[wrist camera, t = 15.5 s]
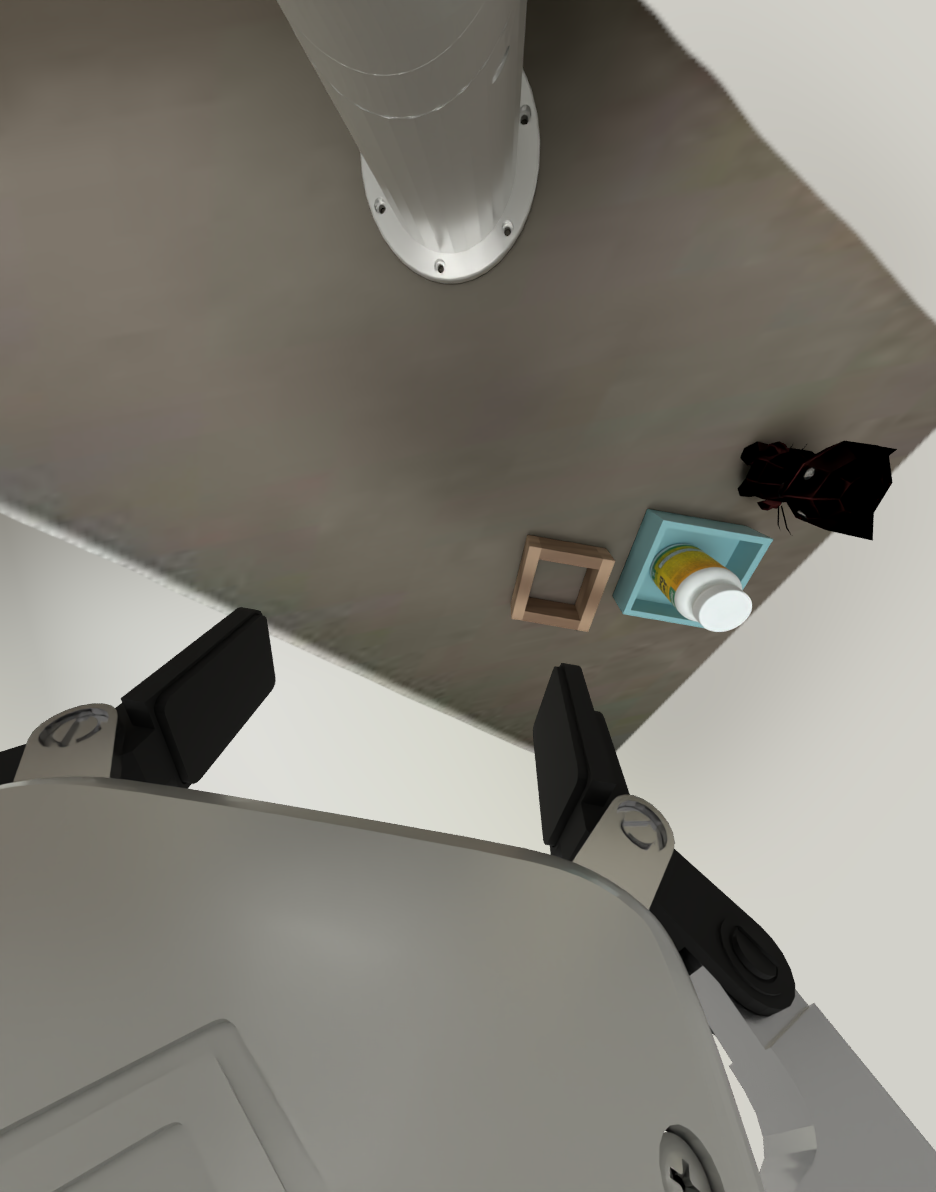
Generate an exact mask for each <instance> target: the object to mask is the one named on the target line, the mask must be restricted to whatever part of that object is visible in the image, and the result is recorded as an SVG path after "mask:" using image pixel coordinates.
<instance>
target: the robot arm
mask: <svg viewBox="0 0 936 1192" xmlns="http://www.w3.org/2000/svg"><path fill="white" fill-rule="evenodd" d="M277 2H278V4H279V6H280V7H281V9H282V11H283V13H284V14H285V16H286V18H287V20H288V22H289V23H290V25H291V27H292V29H293V31H294V33H295V35H296V37H297V38H298V40H299V42H300V44H301V46H302V47H303V49H304V51H305V53H306V55H307V56H308V58H309V60H310V62H311V64H312V65H313V67H314V69H315V71H316V73H317V74H318V76H319V78H320V80H321V82H322V84H323V85H324V87H325V89H326V91H327V93H328V94H329V96H330V98H331V100H332V102H333V103H334V105H335V107H336V109H337V111H338V112H339V114H340V116H341V118H342V120H343V121H344V123H345V125H346V127H347V129H348V130H349V132H350V134H351V136H352V138H353V139H354V141H355V143H356V145H357V147H358V148H359V150H360V155H361V172H362V178H363V183H364V188H365V194H366V198H367V201H368V204H369V207H370V210H371V213H372V216H373V218H374V220H375V222H376V224H377V226H378V228H379V230H380V232H381V235H382V236H383V238H384V239H385V241H386V242H387V244H388V245H389V247H390V248H391V250H392V251H393V252H394V253H395V254H396V256H397V257H398V258H399V259H400V260H401V261H402V263H404V264H405V265H406V266H407V267H409V268H410V269H411V270H412V271H414V272H415V273H416V274H418V275H420V276H422V277H424V278H426V279H428V280H431V281H435V282H439V283H444V284H450V283H462V282H466V281H470V280H473V279H475V278H477V277H479V276H481V275H483V274H485V273H487V272H488V271H489V270H490V269H492V268H493V267H494V266H495V265H496V264H498V263H499V262H500V261H501V260H502V259H503V257H504V256H505V255H506V254H507V253H508V251H509V250H510V249H511V248H512V247H513V245H514V243H515V241H516V240H517V238H518V236H519V234H520V233H521V231H522V229H523V227H524V224H525V222H526V219H527V217H528V214H529V212H530V209H531V206H532V201H533V197H534V193H535V189H536V184H537V177H538V170H539V155H540V135H539V124H538V114H537V110H536V106H535V102H534V98H533V93H532V89H531V87H530V85H529V82H528V80H527V77H526V75H525V72H524V70H523V55H524V40H525V25H526V9H527V0H277ZM523 119H525V120H527V122H528V123H527V124H526V125H522V124H521V121H522V120H523ZM382 208H386V210H385V212H384V213H383V214H381V212H380V211H381V209H382ZM506 229H509V230H510V231H511V234H510V235H509V236H505V234H504V232H505V230H506ZM440 266H443V267H444V271H443V272H442V273H439V272H438V269H439V267H440ZM274 685H275V672H274V666H273V659H272V652H271V645H270V638H269V631H268V624H267V619H266V617H265V616H263V615H262V613H261V611H259V610H254V609H248V608H243V607H240V608H237V609H236V610H234V611H233V612H232V613H231V614H229V615H228V616H227V617H226V618H224V619H223V620H222V621H220V622H219V623H218V624H216V625H215V626H214V627H212V629H210V630H209V631H207V632H206V633H205V634H203V635H202V636H201V637H199V638H198V639H197V640H196V641H194V642H193V643H192V644H190V645H189V646H188V647H187V648H185V649H184V650H183V651H181V652H180V653H179V654H177V655H176V656H175V657H174V658H172V659H171V660H170V661H168V662H167V663H166V664H165V665H163V666H162V667H161V668H160V669H158V670H157V671H156V672H154V673H153V674H152V675H150V676H149V677H148V678H146V679H145V680H144V681H142V682H141V683H140V684H139V685H137V686H136V687H135V688H133V689H132V690H131V691H130V692H128V693H127V694H126V695H125V696H123V697H122V698H121V700H122V703H121V704H120V705H119V706H118V707H116V708H114V707H112V706H111V705H107V704H102V703H101V704H87V705H81V706H77V707H74V708H71V709H68V710H65V711H63V712H61V713H59V714H57V715H55V716H53V717H51V718H49V719H48V720H46V721H45V722H43V723H42V724H41V725H40V726H39V727H37V728H36V729H35V730H34V731H33V732H32V734H31V736H30V737H29V739H28V741H27V744H24V745H21V746H18V747H15V748H12V749H8V750H5V751H2V752H0V1192H936V1151H935V1150H934V1149H933V1148H932V1146H931V1145H930V1144H929V1143H928V1141H927V1140H926V1139H925V1138H924V1137H923V1135H922V1134H921V1133H920V1132H919V1130H918V1129H917V1128H916V1127H915V1126H914V1125H913V1123H912V1122H911V1121H910V1120H909V1118H908V1117H907V1116H906V1115H905V1113H904V1112H903V1111H902V1110H901V1109H900V1107H899V1106H898V1105H897V1104H896V1103H895V1101H894V1100H893V1099H892V1098H891V1096H890V1095H889V1094H888V1093H887V1092H886V1090H885V1089H884V1088H883V1087H882V1085H881V1084H880V1083H879V1082H878V1080H877V1079H876V1078H875V1077H874V1076H873V1075H872V1073H871V1072H870V1071H869V1069H868V1068H867V1067H866V1066H865V1065H864V1063H863V1062H862V1061H861V1060H860V1058H859V1057H858V1056H857V1055H856V1054H855V1052H854V1051H853V1050H852V1049H851V1047H850V1046H849V1045H848V1044H847V1043H846V1041H845V1040H844V1039H843V1038H842V1036H841V1035H840V1034H839V1033H838V1032H837V1030H836V1029H835V1028H834V1027H833V1025H832V1024H831V1023H830V1022H829V1021H828V1019H826V1017H825V1016H824V1014H823V1013H822V1012H821V1011H820V1010H819V1008H818V1007H817V1006H816V1005H815V1004H814V1003H813V1004H811V1005H809V1006H808V1004H807V1003H806V1002H805V1001H804V999H803V998H802V997H801V996H800V995H799V993H798V992H797V991H796V989H795V982H794V979H793V975H792V972H791V969H790V967H789V965H788V963H787V961H786V959H785V957H784V955H783V953H782V952H781V950H780V949H779V948H778V946H777V945H776V943H775V942H774V941H773V939H772V938H771V937H770V936H769V935H768V934H767V933H766V932H765V931H764V929H763V928H762V927H761V926H760V925H759V924H757V923H756V922H755V921H754V920H753V919H752V918H751V917H750V916H749V915H747V914H746V913H745V912H744V911H743V910H742V909H741V908H740V907H739V906H737V905H736V904H735V903H734V902H733V901H732V900H731V899H730V898H729V897H727V896H726V895H725V894H724V893H723V892H722V891H721V890H719V889H718V888H717V887H716V886H715V885H714V884H713V883H712V882H711V881H710V880H708V879H707V878H706V877H705V876H704V875H703V874H702V873H701V872H699V871H698V870H697V869H696V868H695V867H694V866H693V865H692V864H690V863H689V862H688V861H687V860H686V859H685V858H684V857H683V856H682V855H681V854H680V853H678V852H677V851H676V850H675V849H674V844H675V841H674V836H673V832H672V830H671V828H670V826H669V823H668V822H667V821H666V819H665V818H664V816H663V815H662V814H661V812H660V811H658V810H657V809H656V808H655V807H654V806H653V805H652V804H650V803H649V802H647V801H646V800H644V799H642V798H640V797H636V796H634V795H630V794H629V791H628V788H627V785H626V782H625V779H624V776H623V773H622V770H621V767H620V764H619V761H618V758H617V755H616V752H615V749H614V746H613V743H612V740H611V737H610V734H609V731H608V728H607V725H606V721H605V718H604V716H603V714H602V713H601V712H598V711H594V708H593V705H592V702H591V699H590V695H589V692H588V689H587V686H586V682H585V679H584V676H583V672H582V669H581V667H580V666H577V665H571V664H565V663H561V665H560V667H556V666H555V667H554V669H553V671H552V674H551V677H550V680H549V683H548V686H547V688H546V691H545V694H544V697H543V700H542V703H541V706H540V709H539V711H538V714H537V717H536V720H535V723H534V727H533V740H534V751H535V760H536V771H537V781H538V791H539V802H540V812H541V821H542V832H543V841H544V843H545V845H550V851H551V855H549V854H545V853H541V852H537V851H533V850H529V849H525V848H520V847H515V846H510V845H505V844H500V843H495V842H490V841H485V840H480V839H475V838H469V837H464V836H458V835H453V834H447V833H442V832H436V831H430V830H425V829H419V828H414V827H408V826H402V825H397V824H391V823H385V822H380V821H374V820H368V819H363V818H357V817H351V816H345V815H339V814H334V813H328V812H322V811H316V810H310V809H305V808H299V807H293V806H287V805H282V804H275V803H270V802H264V801H258V800H252V799H246V798H240V797H234V796H228V795H222V794H216V793H210V792H204V791H198V790H192V789H188V787H189V786H190V785H191V784H194V783H197V782H198V781H199V780H200V779H201V778H202V777H203V775H204V774H205V773H206V772H207V770H208V769H209V768H210V767H211V765H212V764H213V763H214V762H215V761H216V759H217V758H218V757H219V756H220V754H221V753H222V752H223V751H224V749H225V748H226V747H227V746H228V744H229V743H230V742H231V741H232V739H233V738H234V737H235V736H236V734H237V733H238V732H239V731H240V729H241V728H242V727H243V725H244V724H245V723H246V722H247V721H248V719H249V718H250V717H251V716H252V714H253V713H254V712H255V711H256V709H257V708H258V707H259V706H260V704H261V703H262V702H263V701H264V699H265V698H266V697H267V696H268V694H269V693H270V692H271V691H272V689H273V687H274ZM712 1034H714V1035H715V1036H716V1037H717V1039H718V1040H719V1042H720V1043H721V1045H722V1047H723V1048H724V1050H725V1051H726V1053H727V1054H728V1056H729V1057H730V1059H731V1061H732V1062H733V1063H732V1064H731V1065H730V1066H729V1067H730V1068H731V1070H732V1072H733V1073H734V1075H735V1076H736V1078H737V1080H738V1081H739V1083H740V1084H741V1086H742V1088H743V1089H744V1091H745V1093H746V1095H747V1097H748V1098H749V1101H750V1103H751V1105H752V1106H753V1108H754V1110H755V1112H756V1115H757V1118H758V1122H759V1125H760V1128H761V1131H762V1135H763V1141H764V1161H763V1164H762V1166H761V1169H760V1172H759V1171H758V1168H757V1165H756V1162H755V1159H754V1156H753V1153H752V1150H751V1147H750V1144H749V1141H748V1138H747V1135H746V1132H745V1129H744V1126H743V1123H742V1120H741V1117H740V1114H739V1111H738V1108H737V1105H736V1102H735V1099H734V1095H733V1092H732V1090H731V1087H730V1083H729V1081H728V1077H727V1074H726V1072H725V1069H724V1066H723V1063H722V1060H721V1057H720V1054H719V1052H718V1049H717V1046H716V1044H715V1041H714V1038H713V1035H712ZM664 1131H667V1132H665V1133H663V1132H664Z"/></svg>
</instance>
